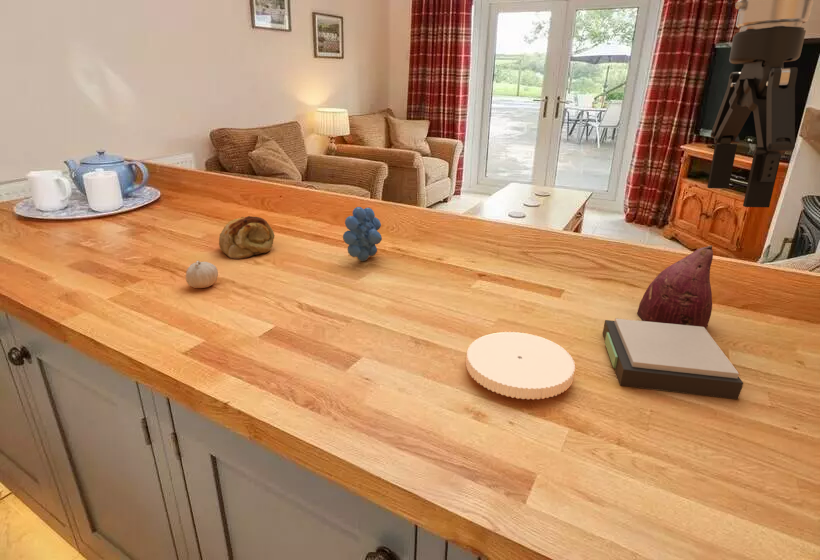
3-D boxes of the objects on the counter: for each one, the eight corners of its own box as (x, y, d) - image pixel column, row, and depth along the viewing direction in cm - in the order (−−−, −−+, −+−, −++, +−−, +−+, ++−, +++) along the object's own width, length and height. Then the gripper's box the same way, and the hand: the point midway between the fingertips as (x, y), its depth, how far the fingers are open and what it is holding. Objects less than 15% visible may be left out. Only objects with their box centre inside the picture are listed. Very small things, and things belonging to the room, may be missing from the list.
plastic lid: (472, 405, 59) (473, 388, 58) (460, 346, 72) (461, 331, 71) (587, 406, 59) (590, 389, 58) (555, 347, 72) (557, 332, 71)
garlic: (203, 294, 87) (199, 267, 85) (180, 289, 89) (175, 262, 87) (226, 282, 93) (223, 256, 90) (204, 277, 94) (200, 252, 92)
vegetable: (699, 332, 84) (749, 254, 78) (696, 352, 75) (752, 266, 69) (638, 303, 88) (682, 227, 82) (629, 318, 79) (677, 234, 73)
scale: (699, 343, 74) (705, 324, 73) (738, 399, 61) (745, 377, 60) (600, 333, 76) (603, 314, 75) (617, 385, 64) (622, 363, 62)
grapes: (362, 273, 97) (361, 215, 93) (336, 266, 101) (334, 209, 96) (395, 257, 106) (396, 202, 102) (370, 251, 110) (370, 198, 105)
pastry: (248, 263, 102) (244, 225, 99) (204, 253, 107) (198, 217, 104) (291, 243, 114) (288, 210, 111) (249, 236, 119) (245, 203, 115)
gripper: (703, 39, 74) (680, 181, 81) (783, 16, 51) (740, 216, 59) (759, 37, 72) (730, 181, 80) (867, 11, 49) (813, 217, 57)
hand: (735, 196), depth 69 cm, fingers open, 13 cm apart
